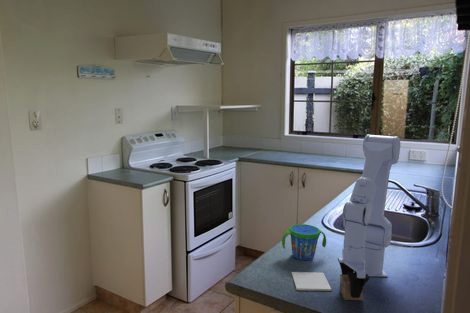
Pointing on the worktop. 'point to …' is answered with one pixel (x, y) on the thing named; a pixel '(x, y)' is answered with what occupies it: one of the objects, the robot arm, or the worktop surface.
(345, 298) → the walnut block
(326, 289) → the cream tile
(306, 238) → the snack cup
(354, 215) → the robot arm
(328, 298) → the worktop surface
